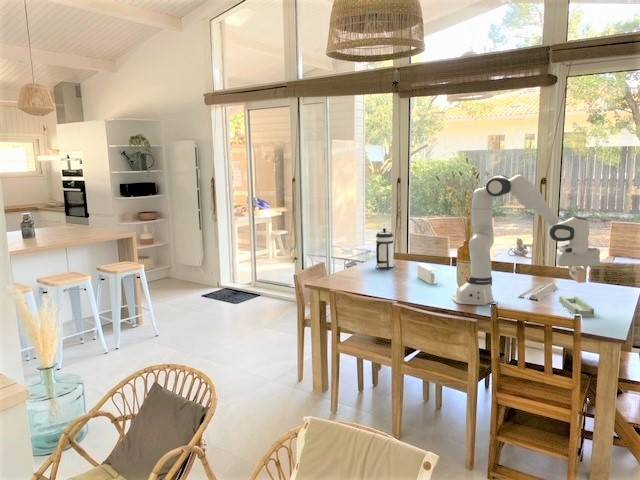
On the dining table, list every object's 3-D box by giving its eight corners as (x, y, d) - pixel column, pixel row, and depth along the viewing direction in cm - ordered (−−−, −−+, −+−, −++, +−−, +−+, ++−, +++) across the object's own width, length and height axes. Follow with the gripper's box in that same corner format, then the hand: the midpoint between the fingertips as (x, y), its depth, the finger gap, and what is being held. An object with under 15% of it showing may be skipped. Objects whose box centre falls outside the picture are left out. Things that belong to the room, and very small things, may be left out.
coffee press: (371, 266, 372) (370, 227, 367) (392, 264, 373) (391, 226, 368) (376, 271, 355) (376, 231, 350) (398, 270, 356) (397, 229, 351)
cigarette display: (437, 283, 316) (437, 269, 314) (429, 284, 315) (429, 270, 313) (424, 276, 335) (424, 263, 334) (416, 277, 334) (416, 263, 333)
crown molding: (538, 286, 301) (538, 281, 300) (559, 289, 293) (559, 284, 292) (518, 298, 279) (518, 292, 278) (539, 302, 271) (540, 296, 270)
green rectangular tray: (574, 316, 244) (574, 308, 243) (559, 303, 265) (559, 296, 265) (593, 316, 243) (594, 308, 242) (576, 303, 264) (576, 296, 264)
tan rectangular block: (577, 282, 244) (578, 271, 243) (569, 274, 259) (570, 263, 258) (585, 282, 243) (586, 271, 242) (576, 274, 258) (577, 264, 257)
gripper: (597, 246, 250) (596, 272, 253) (555, 247, 253) (554, 273, 255) (603, 248, 244) (601, 275, 246) (560, 249, 247) (558, 276, 249)
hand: (577, 274), depth 251 cm, fingers closed on tan rectangular block, 4 cm apart
